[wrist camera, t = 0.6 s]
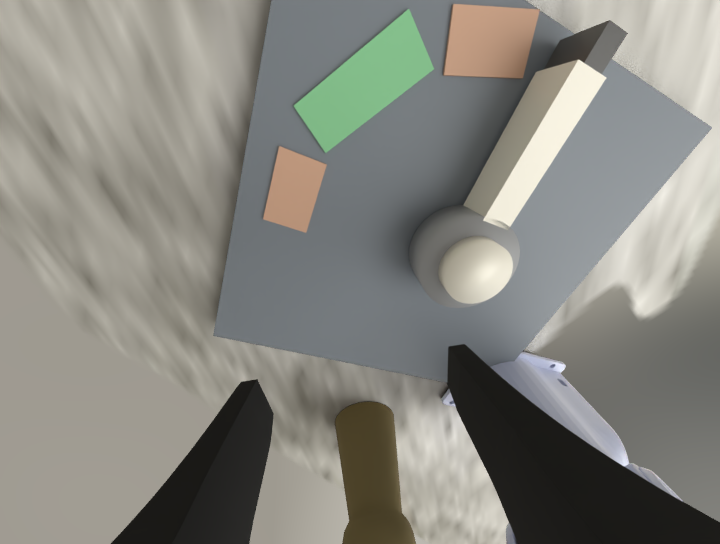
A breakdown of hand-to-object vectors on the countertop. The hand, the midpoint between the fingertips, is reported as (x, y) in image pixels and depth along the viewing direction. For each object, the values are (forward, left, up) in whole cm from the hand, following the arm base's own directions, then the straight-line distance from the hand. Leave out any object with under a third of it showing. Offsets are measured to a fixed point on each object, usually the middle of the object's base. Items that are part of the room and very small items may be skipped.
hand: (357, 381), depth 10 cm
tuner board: (-5, -4, -10) cm, 11 cm away
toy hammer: (-6, -8, -8) cm, 13 cm away
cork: (-8, +16, -10) cm, 20 cm away
